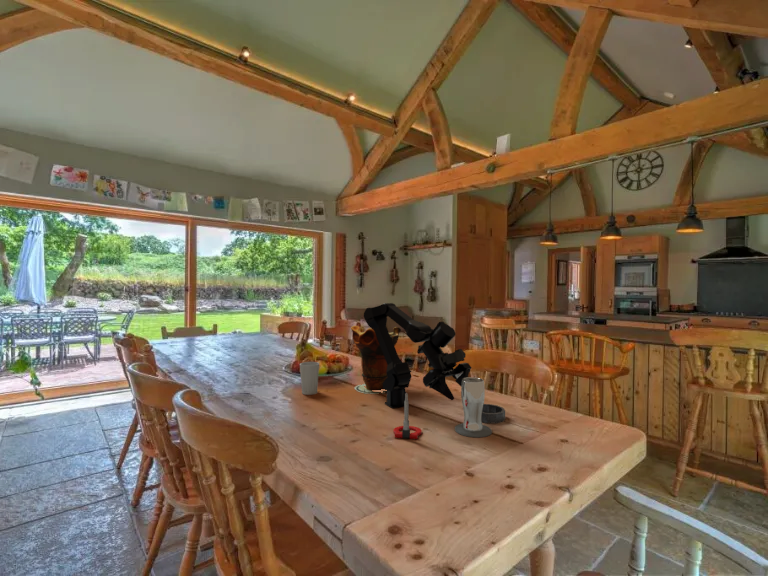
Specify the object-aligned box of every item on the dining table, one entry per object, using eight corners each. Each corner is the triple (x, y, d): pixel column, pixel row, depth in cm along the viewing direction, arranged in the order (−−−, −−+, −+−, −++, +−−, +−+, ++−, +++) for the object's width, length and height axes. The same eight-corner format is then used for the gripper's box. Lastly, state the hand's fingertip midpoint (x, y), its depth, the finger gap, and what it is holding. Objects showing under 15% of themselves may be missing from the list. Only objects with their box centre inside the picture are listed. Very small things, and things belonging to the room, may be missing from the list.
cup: (297, 391, 163) (297, 362, 163) (316, 389, 166) (316, 361, 166) (302, 396, 156) (302, 366, 156) (321, 393, 159) (321, 364, 159)
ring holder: (486, 425, 123) (486, 415, 123) (465, 415, 132) (465, 406, 132) (511, 420, 127) (511, 410, 127) (489, 410, 137) (489, 402, 137)
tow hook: (395, 428, 121) (391, 438, 112) (395, 386, 122) (391, 393, 113) (422, 430, 120) (420, 440, 111) (422, 388, 121) (420, 394, 111)
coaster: (470, 440, 111) (470, 438, 111) (447, 427, 121) (447, 426, 121) (499, 433, 116) (499, 432, 116) (475, 422, 126) (475, 420, 126)
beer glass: (487, 427, 120) (487, 378, 120) (481, 434, 114) (480, 383, 114) (465, 423, 123) (465, 376, 123) (458, 430, 117) (458, 380, 117)
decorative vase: (410, 384, 173) (408, 321, 171) (382, 399, 153) (380, 329, 152) (371, 378, 184) (369, 319, 182) (341, 392, 164) (338, 326, 163)
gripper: (429, 344, 119) (458, 387, 111) (467, 338, 131) (495, 377, 123) (411, 365, 125) (437, 408, 117) (448, 358, 137) (474, 396, 129)
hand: (462, 396), depth 121 cm, fingers open, 9 cm apart
